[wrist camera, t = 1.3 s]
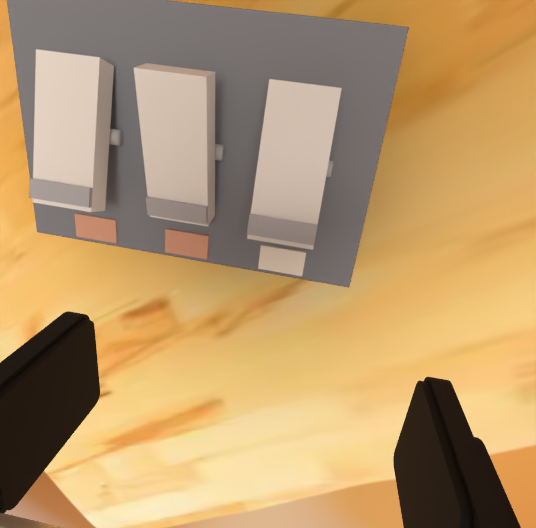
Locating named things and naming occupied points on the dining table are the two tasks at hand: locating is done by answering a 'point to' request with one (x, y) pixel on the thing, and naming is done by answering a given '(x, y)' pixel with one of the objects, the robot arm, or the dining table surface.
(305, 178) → the rocker
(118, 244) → the switch unit
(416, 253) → the dining table surface
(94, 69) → the rocker
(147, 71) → the rocker
